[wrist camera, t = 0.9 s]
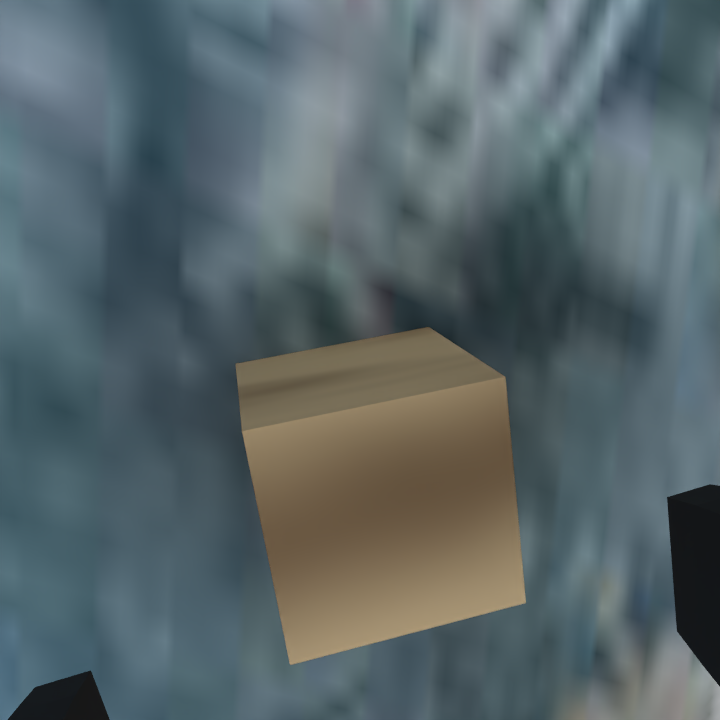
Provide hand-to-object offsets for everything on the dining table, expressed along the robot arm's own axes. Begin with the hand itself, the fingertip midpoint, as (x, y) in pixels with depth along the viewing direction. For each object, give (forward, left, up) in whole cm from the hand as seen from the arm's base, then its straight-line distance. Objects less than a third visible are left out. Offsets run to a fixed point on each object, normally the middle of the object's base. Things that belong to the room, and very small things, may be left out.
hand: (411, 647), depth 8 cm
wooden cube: (-1, -1, -10) cm, 10 cm away
